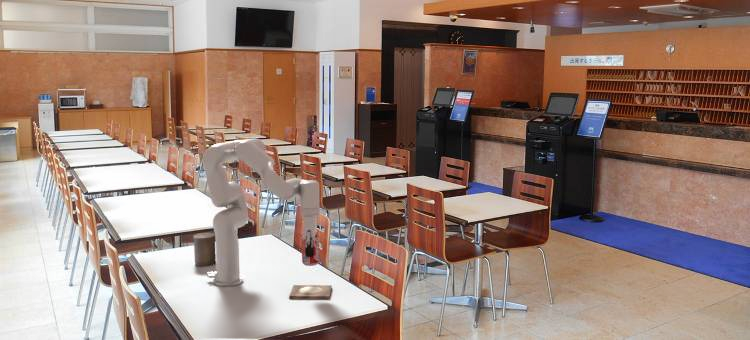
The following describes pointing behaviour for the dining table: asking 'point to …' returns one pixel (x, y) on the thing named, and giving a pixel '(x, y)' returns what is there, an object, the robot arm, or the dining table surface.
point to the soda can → (316, 258)
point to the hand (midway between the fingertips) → (310, 253)
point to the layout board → (310, 292)
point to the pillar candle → (204, 249)
